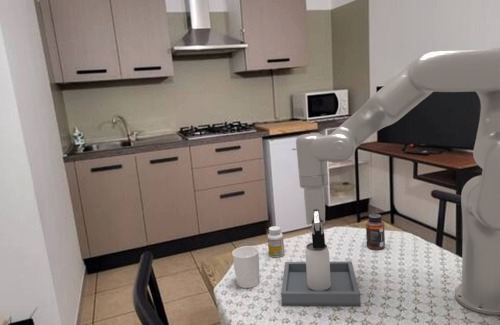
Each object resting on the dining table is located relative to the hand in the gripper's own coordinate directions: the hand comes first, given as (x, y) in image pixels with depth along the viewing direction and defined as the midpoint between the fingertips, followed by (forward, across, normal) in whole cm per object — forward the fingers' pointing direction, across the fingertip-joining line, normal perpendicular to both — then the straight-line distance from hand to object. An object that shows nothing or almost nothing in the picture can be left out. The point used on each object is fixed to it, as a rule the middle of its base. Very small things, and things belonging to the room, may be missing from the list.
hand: (318, 240), depth 100 cm
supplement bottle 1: (+14, -22, -15) cm, 30 cm away
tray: (+14, 0, -1) cm, 14 cm away
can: (+14, 0, -1) cm, 14 cm away
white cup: (+14, -3, -22) cm, 26 cm away
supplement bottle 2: (+15, -27, +19) cm, 36 cm away
